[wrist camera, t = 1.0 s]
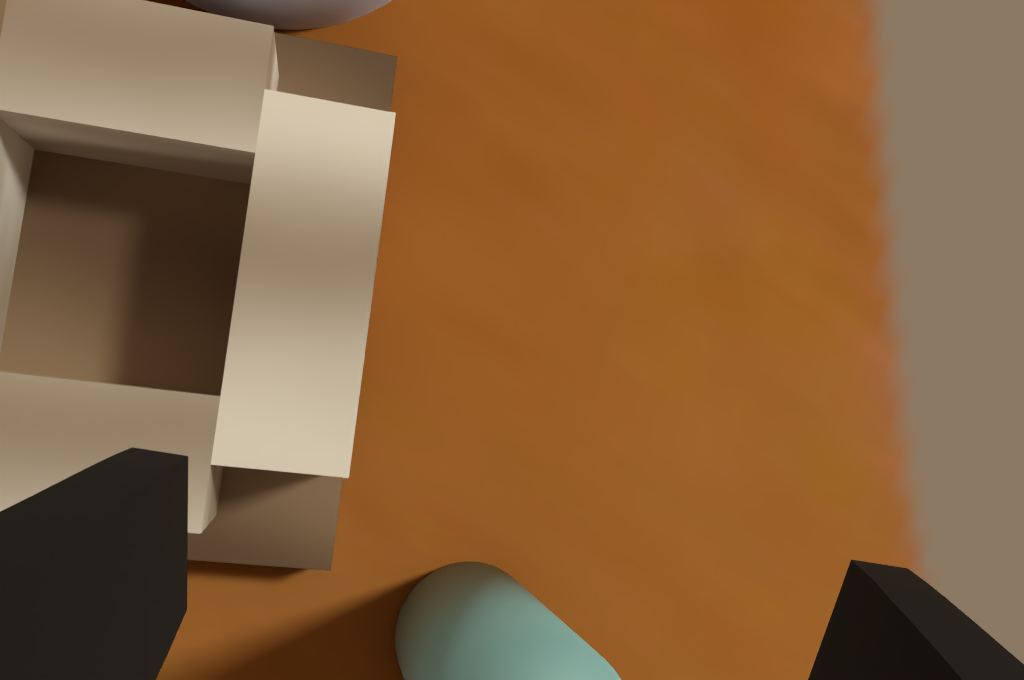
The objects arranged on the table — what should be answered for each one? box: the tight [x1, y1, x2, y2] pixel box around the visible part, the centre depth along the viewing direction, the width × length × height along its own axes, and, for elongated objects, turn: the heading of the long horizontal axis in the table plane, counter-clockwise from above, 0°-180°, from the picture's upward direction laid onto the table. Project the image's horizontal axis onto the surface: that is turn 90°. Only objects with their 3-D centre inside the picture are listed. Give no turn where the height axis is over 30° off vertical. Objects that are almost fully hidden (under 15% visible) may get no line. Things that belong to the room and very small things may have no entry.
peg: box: [395, 562, 621, 680], centre depth 18 cm, size 4×4×7 cm
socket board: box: [0, 0, 397, 571], centre depth 19 cm, size 12×10×4 cm
